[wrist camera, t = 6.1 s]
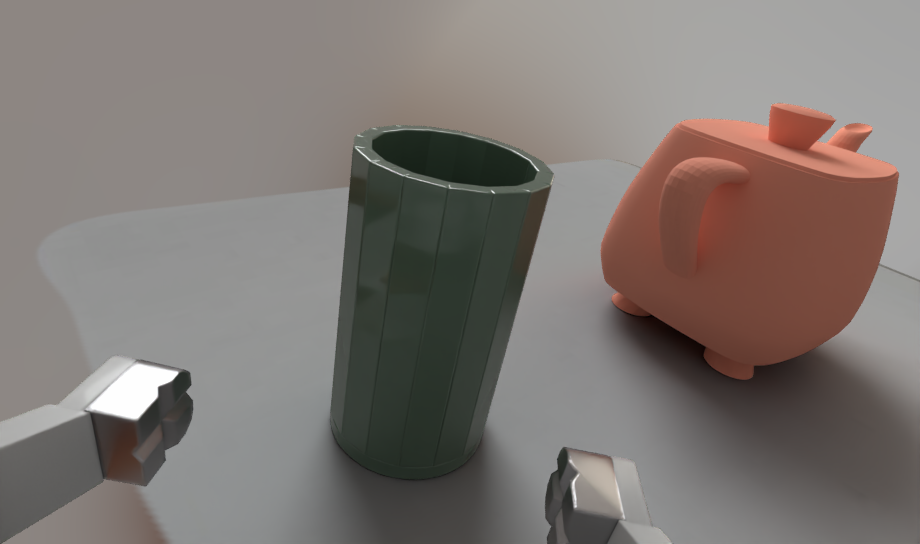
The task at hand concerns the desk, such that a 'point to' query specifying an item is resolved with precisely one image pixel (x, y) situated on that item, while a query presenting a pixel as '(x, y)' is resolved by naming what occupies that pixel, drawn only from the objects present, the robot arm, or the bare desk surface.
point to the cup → (429, 292)
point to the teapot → (752, 235)
